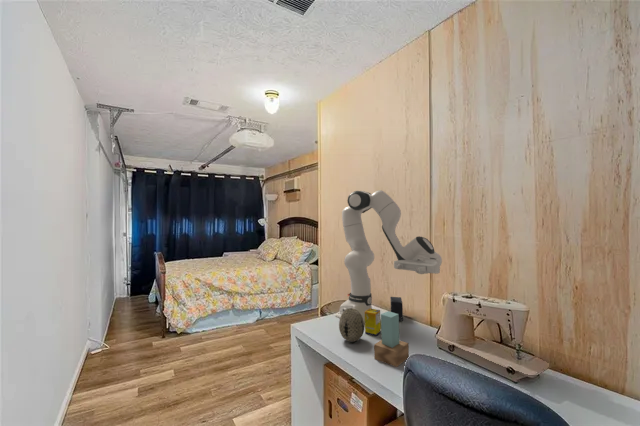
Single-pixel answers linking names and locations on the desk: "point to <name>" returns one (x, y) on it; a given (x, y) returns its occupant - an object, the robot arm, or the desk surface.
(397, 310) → the small box
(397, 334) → the teal block
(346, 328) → the decorative egg
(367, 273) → the robot arm
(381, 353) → the walnut block
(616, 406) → the desk surface
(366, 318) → the supplement box
